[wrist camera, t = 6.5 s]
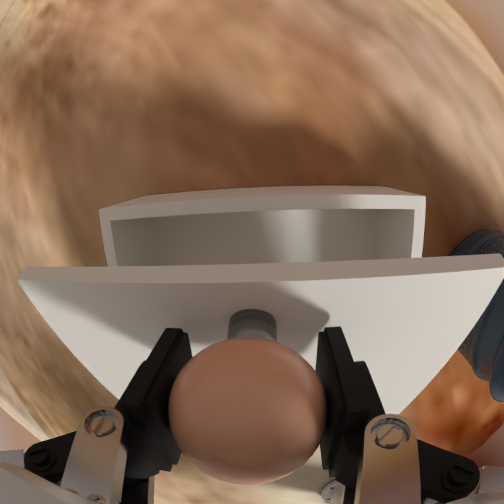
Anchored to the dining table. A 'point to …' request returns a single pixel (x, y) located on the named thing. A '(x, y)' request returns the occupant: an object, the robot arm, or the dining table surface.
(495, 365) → the canister
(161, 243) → the carton
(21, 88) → the dining table surface
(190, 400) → the lid
